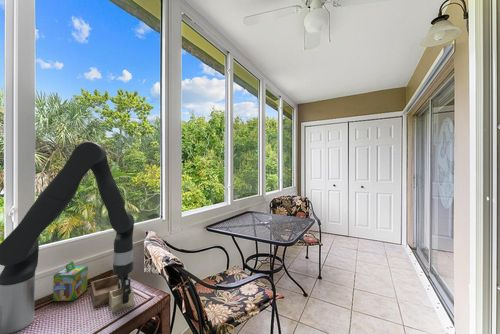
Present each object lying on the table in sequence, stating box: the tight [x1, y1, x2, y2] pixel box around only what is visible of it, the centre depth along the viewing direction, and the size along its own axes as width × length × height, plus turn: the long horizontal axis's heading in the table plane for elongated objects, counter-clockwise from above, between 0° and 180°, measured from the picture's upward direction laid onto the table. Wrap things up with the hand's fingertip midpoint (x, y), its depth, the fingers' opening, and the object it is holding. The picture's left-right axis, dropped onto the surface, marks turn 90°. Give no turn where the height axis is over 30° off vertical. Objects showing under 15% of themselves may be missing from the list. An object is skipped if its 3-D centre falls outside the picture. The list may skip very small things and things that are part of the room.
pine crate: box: [108, 285, 135, 314], centre depth 94 cm, size 8×6×6 cm
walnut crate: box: [90, 275, 118, 309], centre depth 101 cm, size 12×14×5 cm
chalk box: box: [52, 260, 89, 302], centre depth 99 cm, size 9×9×15 cm
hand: (123, 298), depth 93 cm, fingers open, 8 cm apart
